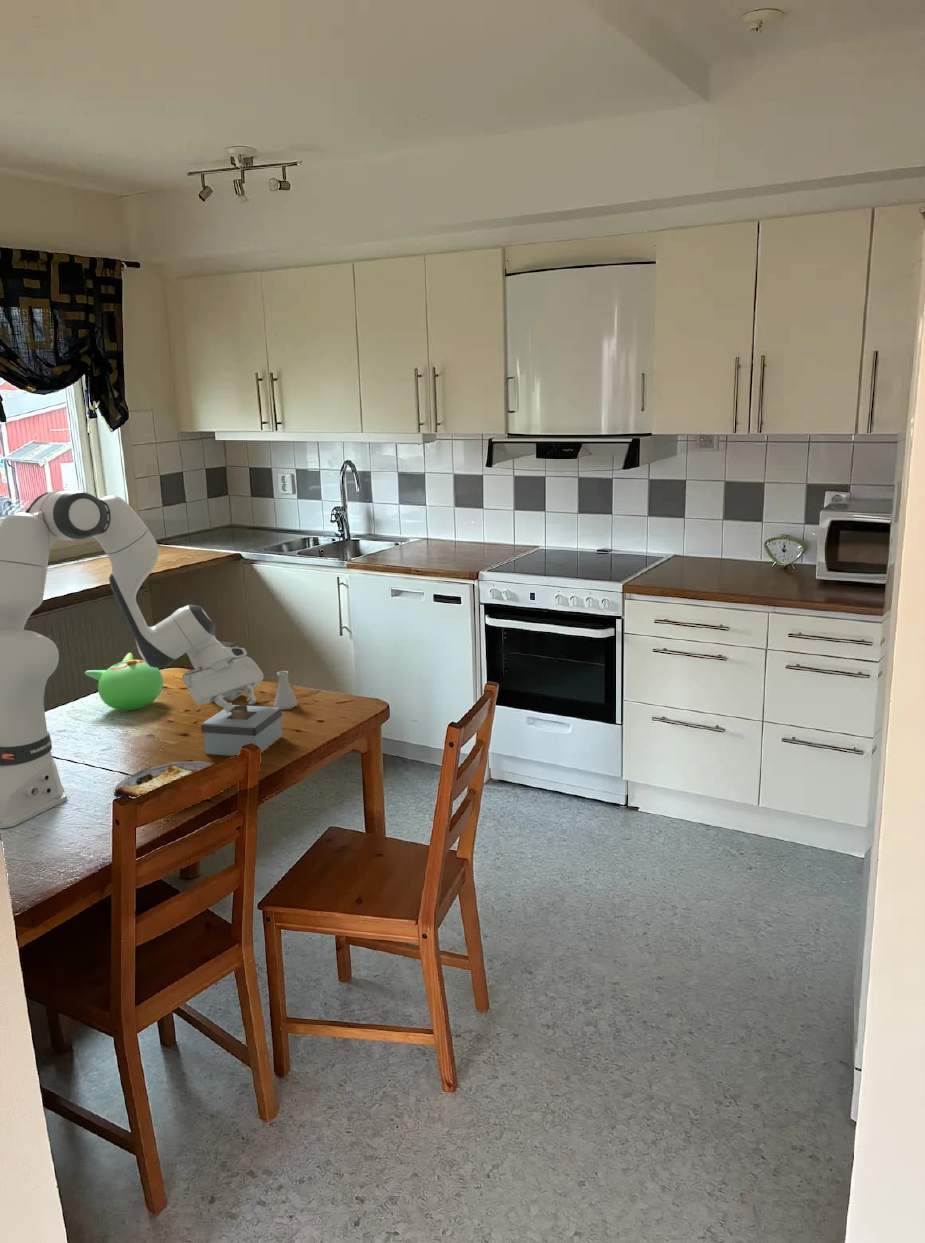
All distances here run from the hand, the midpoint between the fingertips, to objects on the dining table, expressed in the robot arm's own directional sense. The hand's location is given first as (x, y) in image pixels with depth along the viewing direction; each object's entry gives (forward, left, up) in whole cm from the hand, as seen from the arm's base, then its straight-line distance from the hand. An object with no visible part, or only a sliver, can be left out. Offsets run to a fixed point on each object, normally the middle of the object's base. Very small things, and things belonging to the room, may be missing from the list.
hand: (242, 706), depth 235 cm
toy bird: (+22, +48, -11) cm, 54 cm away
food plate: (-28, +4, -11) cm, 30 cm away
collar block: (0, +1, -10) cm, 10 cm away
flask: (+30, +4, -11) cm, 32 cm away
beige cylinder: (0, +1, -10) cm, 10 cm away
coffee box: (+35, +26, -11) cm, 45 cm away
